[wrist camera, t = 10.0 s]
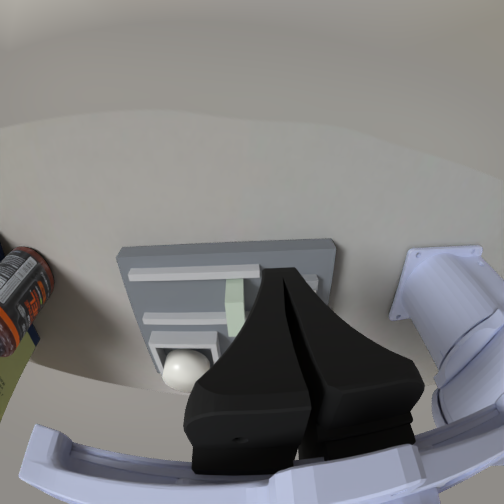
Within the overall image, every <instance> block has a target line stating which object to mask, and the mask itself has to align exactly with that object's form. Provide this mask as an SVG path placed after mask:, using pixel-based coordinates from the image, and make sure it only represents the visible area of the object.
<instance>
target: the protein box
mask: <svg viewBox="0 0 504 504" xmlns="http://www.w3.org/2000/svg"><path fill="white" fill-rule="evenodd" d="M4 258H5V255H4V252H3V249H2V246H1V243H0V262H1V261H2V260H3V259H4ZM39 340H40V338H39V336H38V334H37V332H36V330H35V328H34V326H33V324H31V325H30V327H29V329H28V330H27V332H26V333H25V335H24V337H23V338H22V340H21V342H20V343H19V345H18V347H17V348H16V350H15V351H14V353H13V354H12V355H10V356H8V357H0V422H1V419H2V416H3V414H4V412H5V409H6V407H7V405H8V402H9V400H10V398H11V396H12V393H13V391H14V389H15V387H16V384H17V383H18V380H19V378H20V376H21V374H22V372H23V370H24V368H25V366H26V364H27V362H28V361H29V359H30V357H31V355H32V353H33V351H34V349H35V347H36V346H37V344H38V342H39Z"/></svg>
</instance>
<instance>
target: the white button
mask: <svg viewBox="0 0 504 504" xmlns="http://www.w3.org/2000/svg"><path fill="white" fill-rule="evenodd" d="M209 369H210V362H209V360H208V358H207V357H206V356H205V355H203V354H202V353H200V352H197V351H195V350H191V349H176V350H173V351H171V352H170V353H168V355H167V356H166V361H165V365H164V370H163V375H162V378H163V381H164V382H165V383H166V384H167V385H168V386H169V387H171V388H173V389H175V390H177V391H181V392H186V393H191V391H192V389H193V386H194V384H195V382H196V381H197V380H198V379H199V378H200V377H201V376H202V375H203V374H205V373H206V372H207V371H208V370H209Z"/></svg>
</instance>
